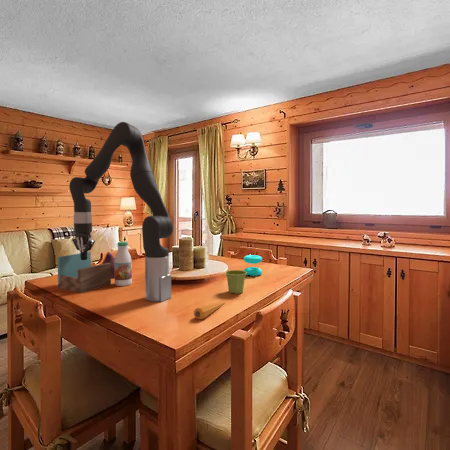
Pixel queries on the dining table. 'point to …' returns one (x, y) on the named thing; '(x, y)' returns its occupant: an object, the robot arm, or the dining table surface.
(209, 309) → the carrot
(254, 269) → the donuts
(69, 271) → the teal card
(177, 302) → the dining table surface
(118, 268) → the milk bottle
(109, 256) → the vegetable
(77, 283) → the wooden box
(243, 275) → the plant pot
